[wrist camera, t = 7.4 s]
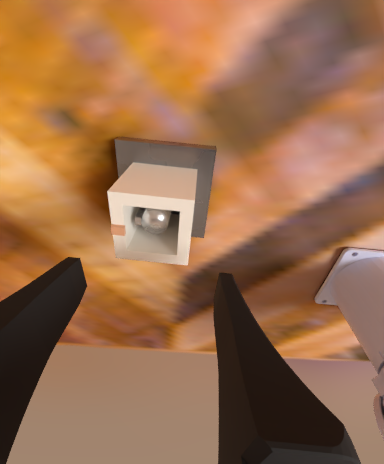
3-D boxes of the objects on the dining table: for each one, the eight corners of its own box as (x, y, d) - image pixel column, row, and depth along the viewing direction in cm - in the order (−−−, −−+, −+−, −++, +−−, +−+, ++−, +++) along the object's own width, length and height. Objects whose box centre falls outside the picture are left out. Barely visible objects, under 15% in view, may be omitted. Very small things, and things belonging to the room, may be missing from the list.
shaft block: (215, 146, 17) (219, 169, 13) (203, 231, 22) (203, 271, 17) (118, 136, 17) (87, 156, 13) (127, 224, 22) (106, 262, 17)
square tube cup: (197, 169, 17) (194, 203, 12) (191, 223, 20) (187, 268, 15) (133, 162, 17) (105, 193, 12) (136, 217, 20) (114, 261, 15)
